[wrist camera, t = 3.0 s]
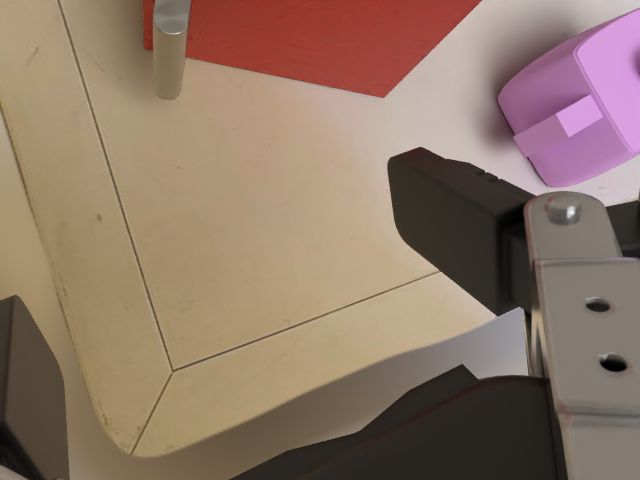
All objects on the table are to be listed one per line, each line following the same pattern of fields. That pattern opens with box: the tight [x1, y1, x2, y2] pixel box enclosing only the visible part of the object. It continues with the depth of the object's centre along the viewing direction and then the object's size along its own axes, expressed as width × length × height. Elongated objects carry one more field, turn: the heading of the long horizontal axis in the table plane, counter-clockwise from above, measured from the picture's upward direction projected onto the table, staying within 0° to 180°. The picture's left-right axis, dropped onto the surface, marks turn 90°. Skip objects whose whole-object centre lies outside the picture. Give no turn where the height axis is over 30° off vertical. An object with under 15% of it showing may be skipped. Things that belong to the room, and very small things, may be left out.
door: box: [142, 0, 482, 100], centre depth 33 cm, size 6×18×16 cm, turn 85°
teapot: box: [498, 8, 640, 187], centre depth 43 cm, size 18×10×10 cm, turn 122°
